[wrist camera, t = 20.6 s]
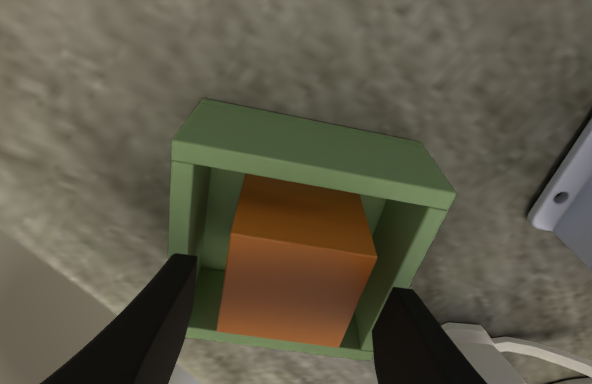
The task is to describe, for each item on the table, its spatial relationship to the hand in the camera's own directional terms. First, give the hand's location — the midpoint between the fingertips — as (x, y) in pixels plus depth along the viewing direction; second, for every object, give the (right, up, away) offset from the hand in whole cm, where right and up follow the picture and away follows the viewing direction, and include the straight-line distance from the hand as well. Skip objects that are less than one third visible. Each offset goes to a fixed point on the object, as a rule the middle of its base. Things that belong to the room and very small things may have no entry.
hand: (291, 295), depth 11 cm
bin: (0, +2, +4) cm, 4 cm away
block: (0, +2, +3) cm, 4 cm away
